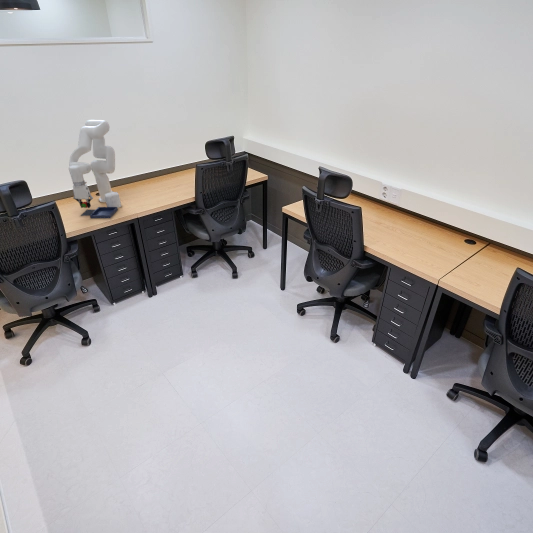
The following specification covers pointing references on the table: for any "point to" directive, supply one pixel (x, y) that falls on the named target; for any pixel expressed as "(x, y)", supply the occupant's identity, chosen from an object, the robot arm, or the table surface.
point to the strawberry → (84, 204)
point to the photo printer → (113, 199)
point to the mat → (87, 212)
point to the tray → (104, 212)
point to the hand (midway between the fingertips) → (85, 207)
